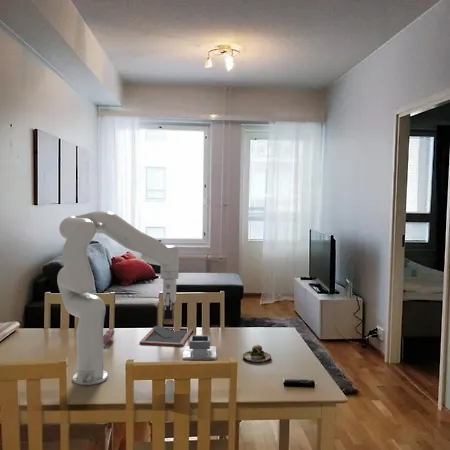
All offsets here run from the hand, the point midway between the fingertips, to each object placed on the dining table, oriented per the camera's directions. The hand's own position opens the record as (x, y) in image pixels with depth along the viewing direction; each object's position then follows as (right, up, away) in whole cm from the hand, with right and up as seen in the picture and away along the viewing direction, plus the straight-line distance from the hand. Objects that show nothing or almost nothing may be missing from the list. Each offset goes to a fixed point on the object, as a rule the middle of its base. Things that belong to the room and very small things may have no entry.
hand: (168, 317), depth 204 cm
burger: (+37, -18, -2) cm, 41 cm away
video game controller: (-30, -15, +17) cm, 38 cm away
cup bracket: (+13, -16, +3) cm, 21 cm away
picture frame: (-3, -15, +26) cm, 30 cm away
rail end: (0, -2, 0) cm, 2 cm away
